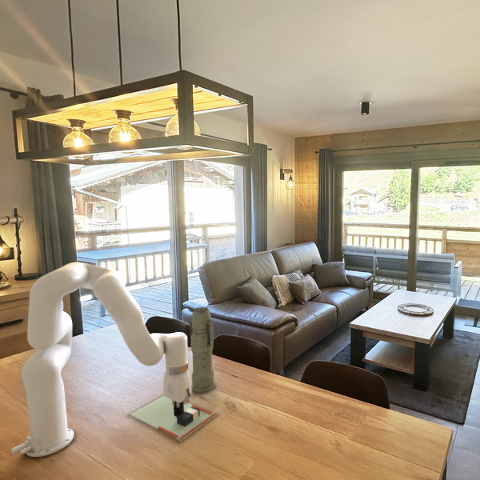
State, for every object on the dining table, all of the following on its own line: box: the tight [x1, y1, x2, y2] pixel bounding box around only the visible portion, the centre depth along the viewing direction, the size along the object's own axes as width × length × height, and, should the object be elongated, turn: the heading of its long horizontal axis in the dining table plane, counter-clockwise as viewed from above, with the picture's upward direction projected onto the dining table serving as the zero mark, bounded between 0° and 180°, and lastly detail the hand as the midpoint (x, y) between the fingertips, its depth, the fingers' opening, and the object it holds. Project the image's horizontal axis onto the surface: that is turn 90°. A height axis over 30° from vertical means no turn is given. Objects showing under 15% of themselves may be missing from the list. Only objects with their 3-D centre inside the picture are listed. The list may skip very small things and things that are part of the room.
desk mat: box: [130, 395, 217, 442], centre depth 129 cm, size 16×28×1 cm, turn 61°
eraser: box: [177, 407, 200, 427], centre depth 126 cm, size 7×4×3 cm, turn 155°
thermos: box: [189, 306, 215, 394], centre depth 146 cm, size 9×12×35 cm
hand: (179, 414), depth 127 cm, fingers closed
